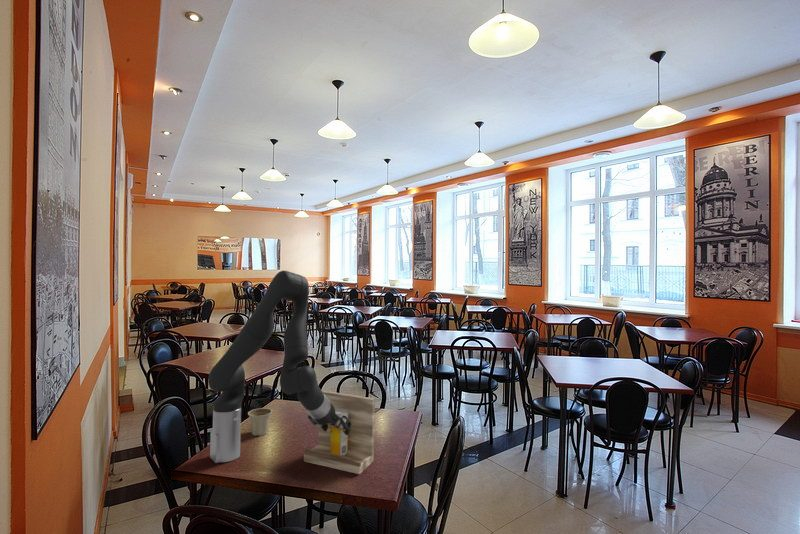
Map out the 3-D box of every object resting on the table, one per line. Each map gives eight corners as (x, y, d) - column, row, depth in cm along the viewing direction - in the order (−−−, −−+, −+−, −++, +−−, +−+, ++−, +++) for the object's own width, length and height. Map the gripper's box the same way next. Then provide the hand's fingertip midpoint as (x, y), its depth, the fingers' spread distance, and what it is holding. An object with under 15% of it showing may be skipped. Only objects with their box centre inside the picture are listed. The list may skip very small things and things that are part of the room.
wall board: (359, 474, 134) (360, 407, 135) (303, 461, 143) (305, 398, 143) (373, 460, 144) (374, 398, 145) (320, 449, 153) (322, 390, 153)
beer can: (339, 448, 148) (340, 407, 148) (351, 453, 144) (352, 410, 144) (326, 454, 143) (327, 411, 144) (338, 459, 139) (339, 415, 140)
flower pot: (242, 435, 164) (242, 414, 164) (257, 427, 173) (258, 406, 173) (262, 439, 161) (262, 417, 161) (276, 430, 170) (276, 409, 170)
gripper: (343, 399, 132) (358, 423, 142) (305, 394, 137) (323, 417, 147) (334, 421, 127) (351, 444, 137) (295, 415, 132) (315, 437, 142)
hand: (337, 430), depth 142 cm, fingers open, 8 cm apart
